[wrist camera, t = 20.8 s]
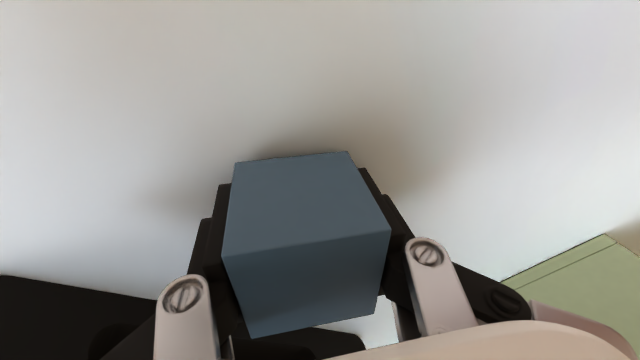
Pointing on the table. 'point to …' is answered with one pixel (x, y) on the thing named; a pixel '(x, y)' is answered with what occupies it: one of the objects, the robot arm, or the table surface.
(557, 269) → the chest
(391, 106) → the table surface
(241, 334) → the device stand
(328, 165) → the block
